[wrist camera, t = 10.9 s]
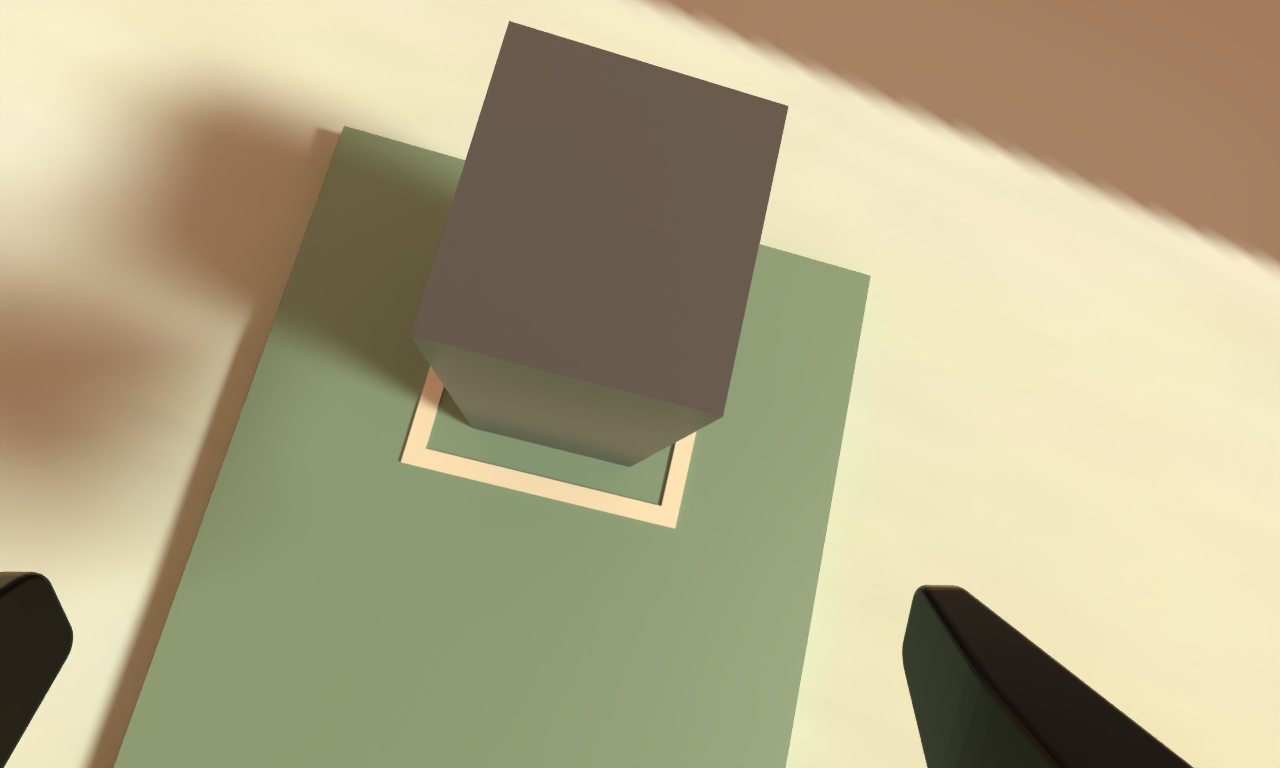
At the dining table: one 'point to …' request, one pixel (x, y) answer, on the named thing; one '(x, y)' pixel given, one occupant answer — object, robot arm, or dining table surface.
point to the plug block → (598, 250)
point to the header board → (493, 536)
